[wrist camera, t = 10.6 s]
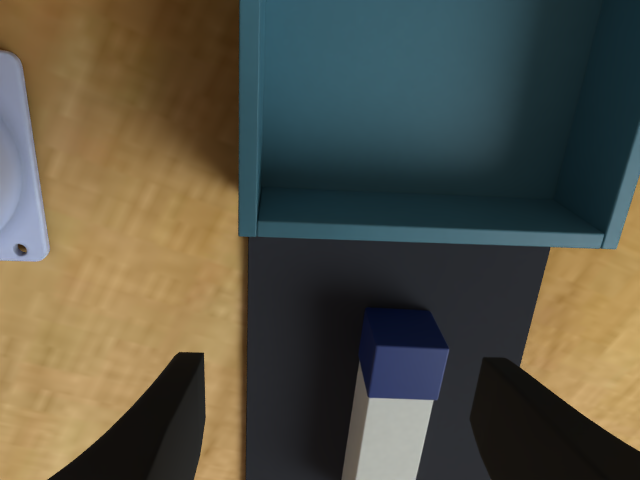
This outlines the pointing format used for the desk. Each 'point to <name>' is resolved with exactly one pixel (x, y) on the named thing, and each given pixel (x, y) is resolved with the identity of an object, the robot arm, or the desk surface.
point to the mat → (345, 334)
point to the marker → (393, 393)
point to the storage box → (439, 120)
